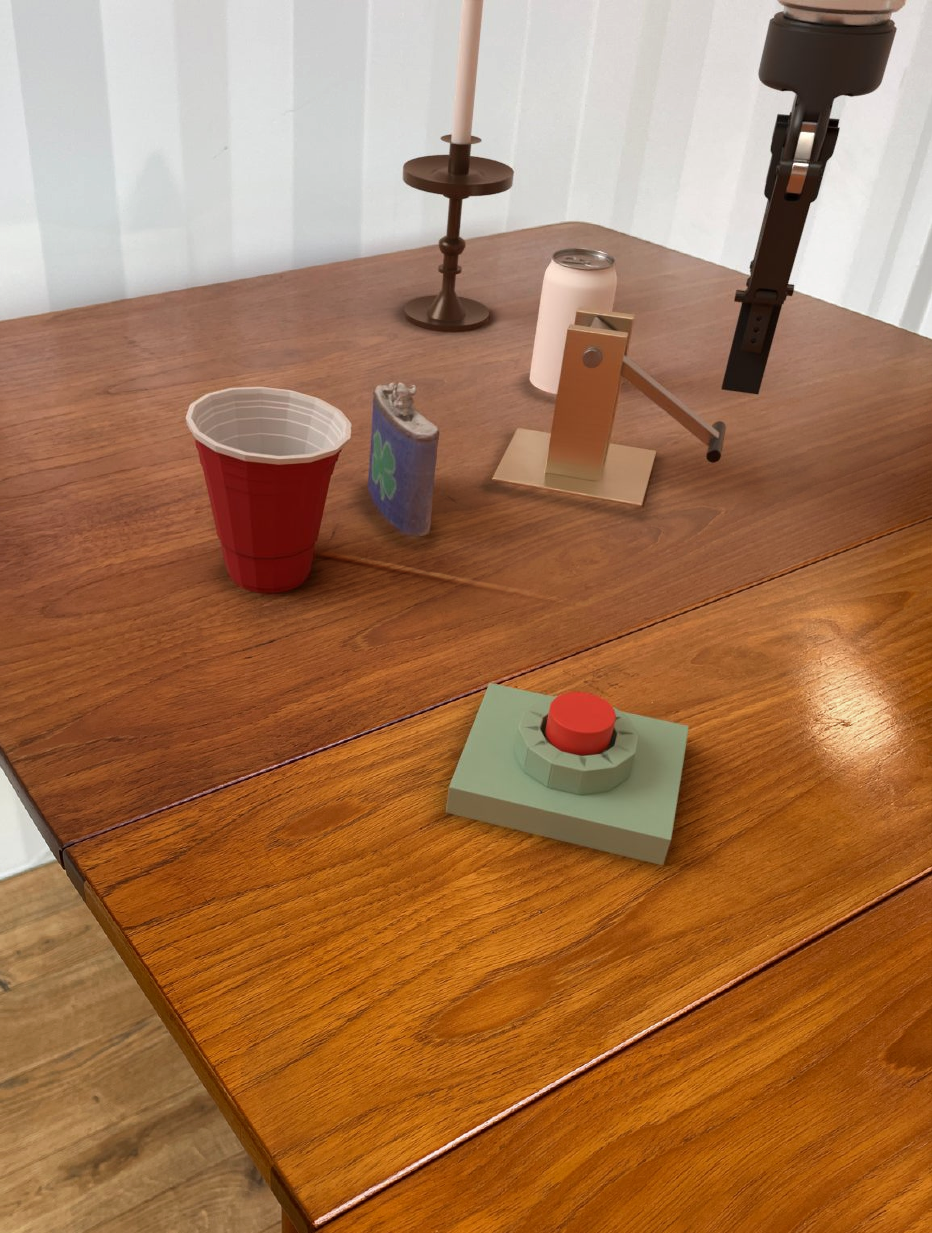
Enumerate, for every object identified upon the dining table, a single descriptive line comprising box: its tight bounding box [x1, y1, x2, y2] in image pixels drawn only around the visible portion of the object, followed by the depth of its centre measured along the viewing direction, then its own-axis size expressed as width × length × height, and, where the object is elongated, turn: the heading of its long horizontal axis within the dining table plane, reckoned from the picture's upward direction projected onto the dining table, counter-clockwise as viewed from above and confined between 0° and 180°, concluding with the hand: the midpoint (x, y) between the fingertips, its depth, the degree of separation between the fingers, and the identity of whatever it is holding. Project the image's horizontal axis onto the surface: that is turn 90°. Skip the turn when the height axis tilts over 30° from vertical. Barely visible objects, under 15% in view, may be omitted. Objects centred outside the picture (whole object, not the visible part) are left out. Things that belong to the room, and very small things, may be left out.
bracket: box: [491, 307, 657, 508], centre depth 89 cm, size 12×10×13 cm
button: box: [545, 691, 616, 756], centre depth 62 cm, size 4×4×2 cm
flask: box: [367, 382, 440, 537], centre depth 83 cm, size 9×3×11 cm, turn 20°
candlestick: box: [402, 0, 515, 333], centre depth 107 cm, size 11×11×35 cm
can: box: [529, 247, 618, 395], centre depth 102 cm, size 6×6×12 cm
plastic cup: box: [185, 386, 352, 594], centre depth 76 cm, size 11×11×12 cm
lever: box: [588, 317, 727, 464], centre depth 86 cm, size 14×6×2 cm, turn 72°
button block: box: [445, 682, 690, 866], centre depth 63 cm, size 12×10×4 cm
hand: (740, 387), depth 84 cm, fingers closed
